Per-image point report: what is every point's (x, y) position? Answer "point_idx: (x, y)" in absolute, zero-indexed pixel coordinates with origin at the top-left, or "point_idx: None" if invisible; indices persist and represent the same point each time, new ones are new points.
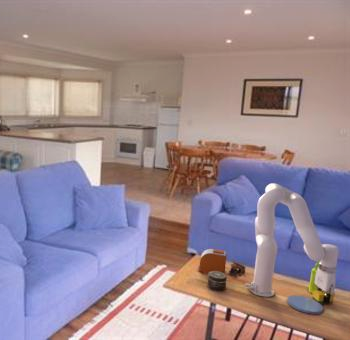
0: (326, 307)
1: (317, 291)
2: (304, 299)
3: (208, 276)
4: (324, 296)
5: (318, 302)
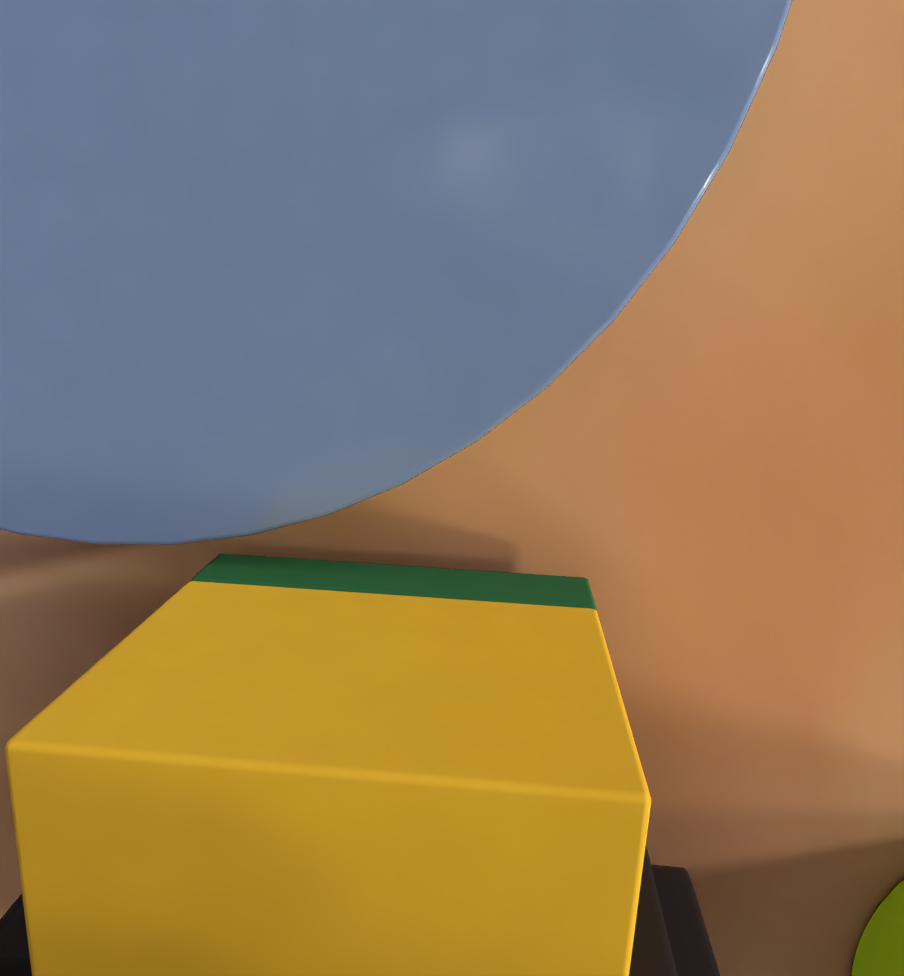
0: (48, 670)
1: (483, 951)
2: (400, 46)
3: None
4: (4, 942)
5: (214, 567)
